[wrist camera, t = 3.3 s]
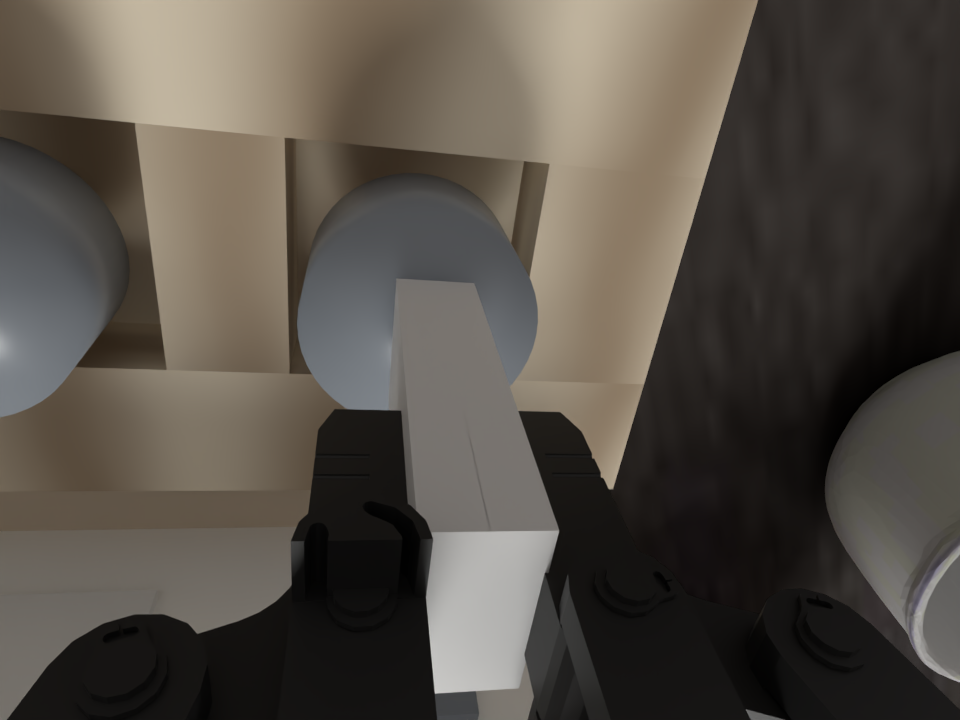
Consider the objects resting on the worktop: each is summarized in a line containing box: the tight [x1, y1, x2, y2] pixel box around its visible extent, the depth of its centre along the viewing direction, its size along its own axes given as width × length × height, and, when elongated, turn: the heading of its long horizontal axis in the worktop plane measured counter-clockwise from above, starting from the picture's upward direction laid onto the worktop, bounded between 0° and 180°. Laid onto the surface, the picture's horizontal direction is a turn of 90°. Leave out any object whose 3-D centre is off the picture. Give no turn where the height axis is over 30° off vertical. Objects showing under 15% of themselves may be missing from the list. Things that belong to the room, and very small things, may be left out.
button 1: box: [297, 173, 538, 410], centre depth 15 cm, size 5×5×3 cm
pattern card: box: [0, 490, 534, 720], centre depth 18 cm, size 26×5×10 cm, turn 82°
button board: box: [0, 0, 758, 492], centre depth 15 cm, size 32×14×3 cm, turn 82°
